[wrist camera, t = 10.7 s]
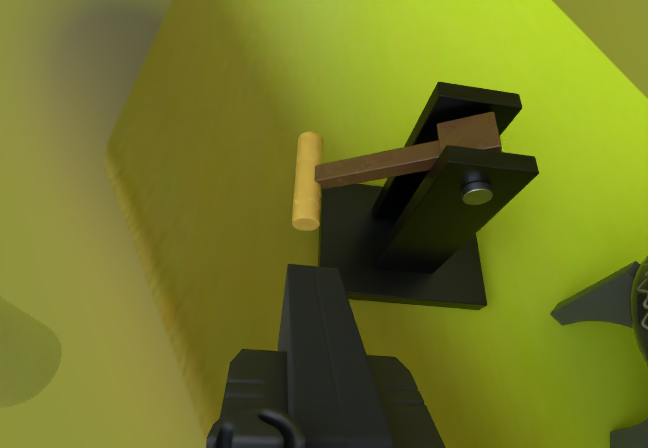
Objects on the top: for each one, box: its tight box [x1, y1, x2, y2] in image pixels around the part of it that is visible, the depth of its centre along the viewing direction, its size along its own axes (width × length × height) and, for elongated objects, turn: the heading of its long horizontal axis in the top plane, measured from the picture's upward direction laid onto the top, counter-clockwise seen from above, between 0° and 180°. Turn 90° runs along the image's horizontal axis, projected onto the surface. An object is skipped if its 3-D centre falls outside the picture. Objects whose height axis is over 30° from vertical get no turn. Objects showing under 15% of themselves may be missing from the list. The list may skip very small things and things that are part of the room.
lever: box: [292, 112, 502, 231], centre depth 23 cm, size 11×6×2 cm
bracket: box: [318, 82, 539, 310], centre depth 26 cm, size 12×9×14 cm
